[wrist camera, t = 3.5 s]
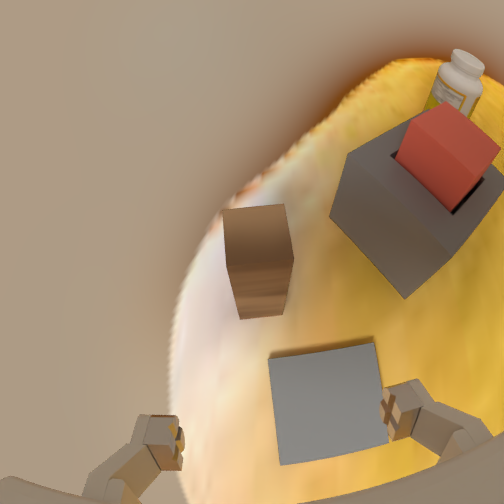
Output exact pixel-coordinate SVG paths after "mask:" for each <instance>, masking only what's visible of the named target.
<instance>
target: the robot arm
mask: <svg viewBox="0 0 504 504" xmlns="http://www.w3.org/2000/svg"><path fill="white" fill-rule="evenodd" d="M382 396H383V398H384V399H383V400H382V401H381V402H380V406H379V412H380V417H381V420H382V422H383V423H384V424H386V425H388V427H387V432H388V434H389V436H390V438H391V440H392V442H393V441H396V440H400V439H403V438H406V437H410V436H411V438H413V439H414V440H416V441H417V442H419V443H420V444H422V445H423V446H425V447H426V448H428V449H429V450H431V451H432V452H434V453H436V454H437V455H439V456H440V459H439V461H438V462H437V464H436V465H435V466H433V467H430V468H428V469H425V470H423V471H420V472H417V473H415V474H412V475H409V476H406V477H403V478H401V479H398V480H395V481H392V482H388V483H385V484H382V485H379V486H375V487H372V488H368V489H365V490H361V491H357V492H353V493H349V494H345V495H341V496H336V497H331V498H327V499H322V500H316V501H311V502H305V503H299V504H504V431H503V432H502V433H500V434H498V435H496V436H495V437H493V436H492V434H491V433H490V432H489V430H488V429H487V427H486V426H485V425H484V423H483V422H482V421H481V419H479V418H476V417H474V416H471V415H469V414H466V413H464V412H462V411H459V410H457V409H454V408H452V407H450V406H447V405H445V404H443V403H440V402H434V400H433V399H432V397H431V396H430V394H429V393H428V392H427V390H426V389H425V387H424V386H423V385H422V383H421V382H420V381H419V379H414V380H410V381H407V382H403V383H400V384H396V385H392V386H389V387H385V388H384V389H383V392H382ZM184 447H185V437H184V433H183V430H182V428H181V427H179V419H178V417H177V416H176V415H142V414H140V415H139V416H138V418H137V421H136V425H135V428H134V431H133V435H132V438H131V442H130V444H126V445H125V446H123V447H122V448H121V449H119V450H118V451H117V452H116V453H114V454H113V455H112V456H111V457H110V458H108V459H107V460H106V461H105V462H103V463H102V464H101V465H99V466H98V467H97V468H96V469H94V470H93V471H92V472H91V473H89V475H88V478H87V481H86V484H85V487H84V490H83V493H82V496H78V495H73V494H69V493H65V492H62V491H58V490H54V489H51V488H47V487H44V486H41V485H37V484H35V483H32V482H29V481H26V480H23V479H20V478H18V477H14V476H8V477H6V478H3V479H1V480H0V504H142V503H141V502H140V501H139V500H138V498H139V497H140V496H141V494H142V493H143V492H144V491H145V490H146V489H147V487H148V486H149V485H150V484H151V483H152V482H153V481H154V480H155V478H156V477H157V476H158V475H159V474H160V473H161V471H182V463H183V457H182V454H181V452H182V451H183V450H184Z"/></svg>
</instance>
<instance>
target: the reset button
mask: <svg viewBox="0 0 504 504" xmlns="http://www.w3.org/2000/svg"><path fill="white" fill-rule="evenodd" d="M500 150H501V148H500V147H499V146H498V145H497V144H496V143H495V142H494V141H493V140H492V139H491V138H490V137H489V136H488V135H486V134H485V133H484V132H483V131H482V130H481V129H480V128H479V127H477V126H476V125H475V124H474V123H473V122H472V121H470V120H469V119H468V118H467V117H466V116H464V115H463V114H462V113H461V112H460V111H458V110H457V109H456V108H455V107H453V106H452V105H451V104H449V103H448V102H447V101H445V102H443V103H442V104H440V105H438V106H436V107H434V108H432V109H430V110H429V111H427V112H425V113H423V114H421V115H420V116H418V117H416V118H414V119H412V120H411V122H410V124H409V126H408V129H407V131H406V134H405V136H404V139H403V141H402V143H401V146H400V148H399V150H398V153H397V155H396V157H395V160H396V161H397V162H398V163H399V164H400V165H401V166H402V167H403V168H405V169H406V170H407V171H408V172H409V173H410V174H411V175H412V176H413V177H414V178H415V179H417V180H418V181H419V182H420V183H421V184H422V185H423V186H424V187H425V188H426V189H427V190H428V191H429V192H430V193H431V194H432V195H433V196H434V197H435V198H436V199H437V200H438V201H439V202H440V203H441V204H442V205H443V206H444V207H445V208H446V209H447V210H448V211H449V212H451V211H452V210H453V209H454V208H455V207H456V206H457V205H458V204H459V203H460V202H461V201H462V199H463V198H464V197H465V196H466V195H467V194H468V193H469V192H470V191H471V190H472V188H473V187H474V186H475V185H476V184H477V182H478V181H479V180H480V178H481V177H482V176H483V174H484V173H485V171H486V170H487V169H488V167H489V166H490V164H491V163H492V161H493V160H494V159H495V157H496V156H497V154H498V153H499V151H500Z"/></svg>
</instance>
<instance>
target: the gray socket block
mask: <svg viewBox="0 0 504 504" xmlns="http://www.w3.org/2000/svg"><path fill="white" fill-rule="evenodd" d="M427 111H429V109H427V110H425V111H424V112H422V113H420V114H418V115H416V116H414V117H413V118H411V119H409V120H407V121H405V122H403V123H402V124H400V125H398V126H396V127H394V128H393V129H391V130H389V131H387V132H385V133H384V134H382V135H380V136H378V137H376V138H375V139H373V140H371V141H369V142H368V143H366V144H364V145H362V146H360V147H359V148H357V149H355V150H353V151H352V152H350V153H348V155H347V158H346V162H345V165H344V169H343V172H342V176H341V179H340V183H339V186H338V189H337V193H336V196H335V199H334V202H333V206H332V209H331V212H330V215H329V217H330V218H331V219H332V220H333V221H334V222H335V223H336V224H337V225H338V226H339V227H340V228H341V230H342V231H343V232H344V233H345V234H346V235H347V236H348V237H349V238H350V239H351V240H352V241H353V242H354V243H355V244H356V245H357V246H358V248H359V249H360V250H361V251H362V252H363V253H364V254H365V255H366V256H367V257H368V258H369V259H370V261H371V262H372V263H373V264H374V265H375V266H376V267H377V268H378V269H379V271H380V272H381V273H382V274H383V275H384V276H385V277H386V278H387V280H388V281H389V282H390V283H391V284H392V285H393V286H394V288H395V289H396V290H397V291H398V292H399V293H400V294H401V296H402V297H403V298H404V299H406V298H407V297H408V296H409V295H411V294H412V293H413V292H414V291H415V290H416V289H418V288H419V287H420V286H421V285H422V284H423V283H424V282H425V281H427V280H428V279H429V278H430V277H431V276H432V275H433V274H434V273H436V272H437V271H438V270H439V269H440V268H441V267H442V266H443V265H444V264H445V263H446V262H447V261H448V260H450V259H451V258H452V257H453V255H454V254H455V253H456V252H457V251H458V250H459V248H460V247H461V246H462V245H463V243H464V242H465V241H466V240H467V239H468V237H469V236H470V235H471V234H472V232H473V231H474V230H475V228H476V227H477V226H478V225H479V223H480V222H481V221H482V219H483V218H484V217H485V215H486V214H487V213H488V211H489V210H490V209H491V207H492V206H493V205H494V203H495V202H496V200H497V199H498V197H499V196H500V195H501V193H502V192H503V190H504V176H503V175H502V174H501V173H500V172H499V171H498V170H497V169H496V168H495V167H494V166H493V165H492V164H490V166H489V167H488V169H487V170H486V171H485V173H484V174H483V176H482V177H481V178H480V180H479V181H478V182H477V184H476V185H475V186H474V187H473V188H472V190H471V191H470V192H469V193H468V194H467V195H466V196H465V197H464V198H463V199H462V201H461V202H460V203H459V204H458V205H457V206H456V207H455V208H454V209H453V210H452V211H451V212H449V211H448V210H447V209H446V208H445V207H444V206H443V205H442V204H441V203H440V202H439V201H438V200H437V199H436V198H435V197H434V196H433V195H432V194H431V193H430V192H429V191H428V190H427V189H426V188H425V187H424V186H423V185H422V184H421V183H420V182H419V181H418V180H417V179H415V178H414V177H413V176H412V175H411V174H410V173H409V172H408V171H407V170H406V169H405V168H403V167H402V166H401V165H400V164H399V163H398V162H397V161H396V160H395V157H396V155H397V153H398V150H399V148H400V146H401V143H402V141H403V139H404V136H405V134H406V131H407V129H408V126H409V124H410V122H411V120H412V119H414V118H416V117H418V116H420V115H421V114H423V113H425V112H427Z"/></svg>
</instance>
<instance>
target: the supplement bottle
mask: <svg viewBox="0 0 504 504" xmlns="http://www.w3.org/2000/svg"><path fill="white" fill-rule="evenodd" d="M451 60H452V61H451V62H446V63H443V64H442V65H441V66H440V67H439V70H438V73H437V76H436V78H435V81H434V84H433V87H432V89H431V92H430V95H429V97H428V100H427V102H426V105H425V107H424V110H423V112H424V111H425V110H427V109H429V110H430V109H432V108H434V107H436V106H438V105H440V104H442V103H443V102H445V101H447V102H448V103H449V104H451V105H452V106H453V107H455V108H456V109H457V110H458V111H460V112H461V113H462V114H463V115H464V116H466V117H467V118H468V119H470V117H471V115H472V113H473V111H474V109H475V107H476V104H477V102H478V100H479V98H480V96H481V94H482V92H483V86H482V83H481V81H480V80H479V77H480V76H481V75H483V72H484V69H485V67H484V65H483V63H482V62H481V61H480V60H478V59H477V58H476V57H474V56H473V55H471V54H469V53H467V52H465V51H463V50H460V49H454V50H453V52H452V55H451Z"/></svg>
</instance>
